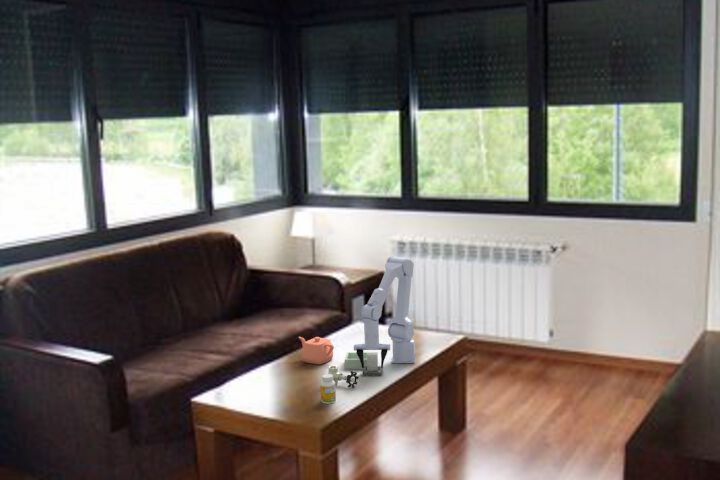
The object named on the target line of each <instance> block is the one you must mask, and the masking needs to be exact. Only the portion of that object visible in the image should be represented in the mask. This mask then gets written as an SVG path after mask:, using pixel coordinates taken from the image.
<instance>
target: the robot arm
mask: <svg viewBox="0 0 720 480" xmlns="http://www.w3.org/2000/svg"><path fill="white" fill-rule="evenodd" d="M384 265H385V266H384V267H385V271H384V275H383V276H382V279H381V282H380V284H379V286H378V288H375V289H374V290H373V292H372V294H371V295H370V296H371V297H369V300H368V301H367V304H365V305H363V306H362V308H361V311H360V317H361V318H362V323H363V326H364V327H363V329H364V330H363V331H364V333H363V334H364V343H358V344H353V351H354V352H356V353H357V355H358V357H359V359H360V362H361V365H362V368H364V358H363V352H364V351H380V356H381V357H380V358H381V359H380V360H381V361H380V362H381V363H380V366H381V368H383V369H384V362H385V359H386V358H387V354H388V351H391V344H389V343H388V344H386V343H380V335H379V334H380V333H379V331H380V330H379V319H380V318H381V317H382V311H383V306H384V304H385V303H386V299H387V297H388V294H387V291H388V290H389V288H390V287H391V285H392V283H393V282H394V280H395V278H397V279H398V283H397V292H396V293H397V294H396V295H397V296H396V305H395V314H394V317H393V318H391V319H390V321H389V324H388V325H389V326H388V329H387V334H388V336H389V338H390V340H391V341H392V356H391V357H392V358H391V364H414V363H415V358H416V349H415V340H414V339H413V337H414V334H415V333H414V332H415V330H414V323H413V321H412V320H411V319H410V318H409V312H410V310H409V309H410V301H411V300H410V297H411V287H412V278H413V275H414V265H415V264H414V262H413V260H412V259H411V258H409V257H399V256H393V255H391V256H388V258H387V259H386V262H385V264H384Z"/></svg>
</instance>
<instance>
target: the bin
mask: <svg viewBox="0 0 720 480" xmlns="http://www.w3.org/2000/svg"><path fill="white" fill-rule="evenodd" d="M356 352H357V351H354V352H353V351H352V352H350V351H349V352H348V351H347V352H346V354H345V357H344V369H345V370H363V368H362V365H361V362H360V359H359V357H358V355H357V353H356ZM367 353H371V351H367V352H365V351H363V358H364V366H367Z"/></svg>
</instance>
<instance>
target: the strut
mask: <svg viewBox="0 0 720 480" xmlns="http://www.w3.org/2000/svg"><path fill="white" fill-rule="evenodd" d="M378 358H379V357H378V352H371V351H370V353H367V371H366V372H379V368H378V366H379V361H378V360H379V359H378Z"/></svg>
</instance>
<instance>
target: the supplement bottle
mask: <svg viewBox="0 0 720 480" xmlns="http://www.w3.org/2000/svg"><path fill="white" fill-rule="evenodd" d="M321 379H322V381H321V382H320V401H321V402H322V404H326V405H327V404H328V405H329V404H334V403H335V402H336V400H337V396H336V395H337V394H336V384H335V381H333V375H332V374H328V373H325V374H323V375H322V376H321Z"/></svg>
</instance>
